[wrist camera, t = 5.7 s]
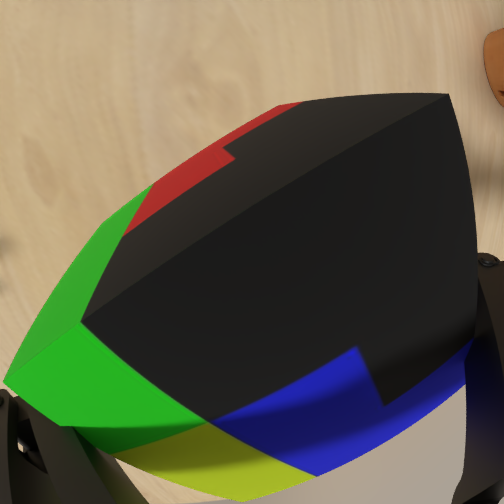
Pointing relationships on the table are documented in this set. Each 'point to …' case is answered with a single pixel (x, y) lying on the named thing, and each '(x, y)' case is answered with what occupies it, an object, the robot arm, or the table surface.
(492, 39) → the flower pot
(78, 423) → the puzzle toy
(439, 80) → the table surface
